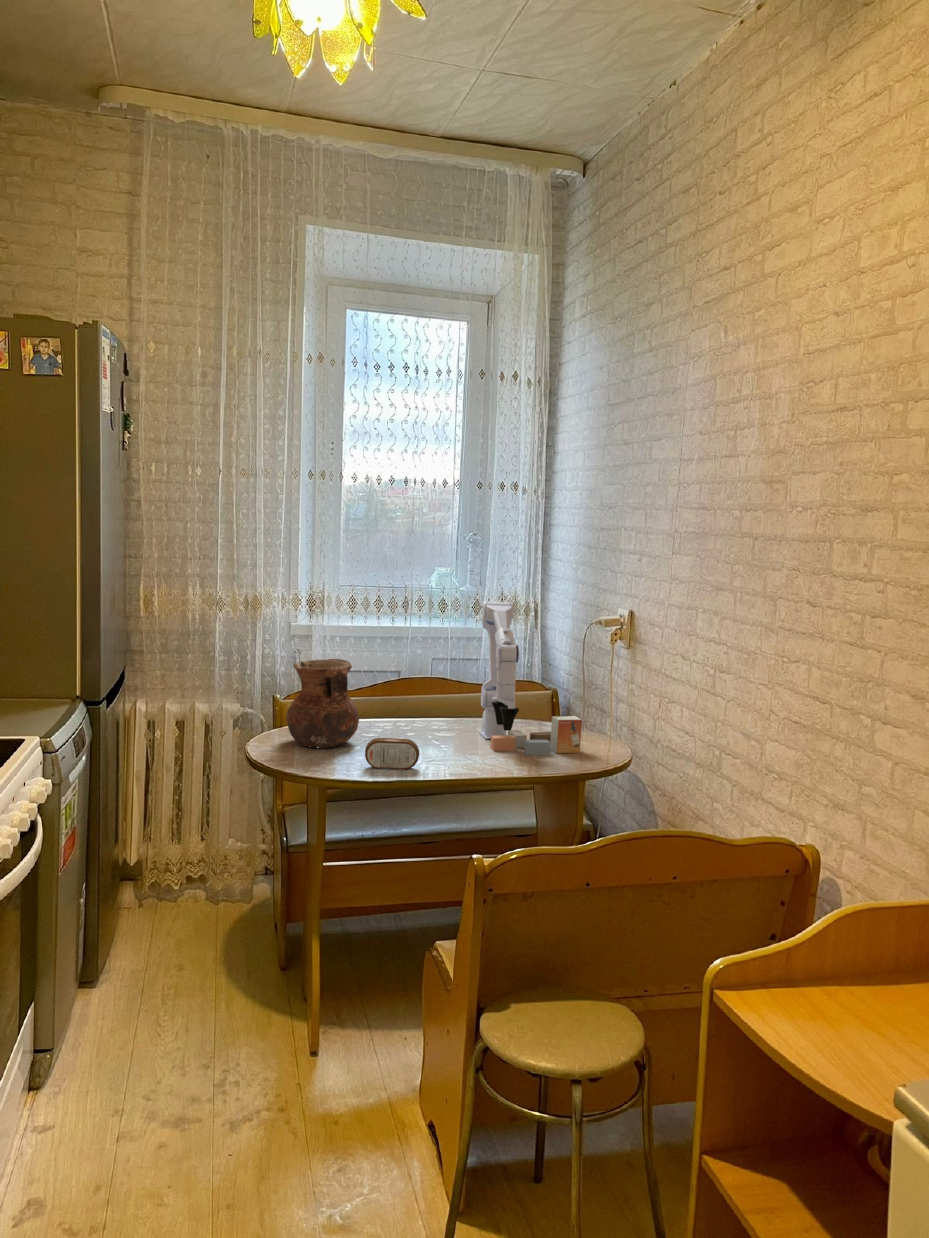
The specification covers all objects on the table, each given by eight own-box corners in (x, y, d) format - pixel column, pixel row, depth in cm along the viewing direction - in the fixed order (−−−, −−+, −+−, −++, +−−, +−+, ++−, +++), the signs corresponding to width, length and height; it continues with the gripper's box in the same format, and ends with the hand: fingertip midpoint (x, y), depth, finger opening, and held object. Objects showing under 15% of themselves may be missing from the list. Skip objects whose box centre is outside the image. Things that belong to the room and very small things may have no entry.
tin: (418, 767, 256) (419, 738, 255) (418, 770, 253) (419, 741, 252) (364, 766, 256) (365, 736, 255) (363, 769, 252) (364, 739, 251)
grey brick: (515, 748, 284) (516, 735, 283) (507, 742, 290) (508, 730, 290) (526, 747, 285) (526, 735, 284) (517, 742, 291) (518, 730, 291)
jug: (271, 744, 275) (272, 662, 272) (313, 731, 293) (315, 654, 290) (331, 756, 264) (333, 670, 262) (371, 742, 283) (374, 662, 280)
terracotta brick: (490, 748, 282) (491, 735, 282) (512, 748, 284) (513, 735, 283) (493, 751, 279) (493, 738, 278) (515, 750, 280) (516, 738, 280)
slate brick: (524, 752, 279) (525, 739, 278) (546, 752, 280) (547, 739, 280) (527, 755, 275) (527, 742, 275) (549, 755, 277) (550, 742, 276)
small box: (556, 753, 278) (557, 719, 277) (549, 749, 284) (551, 715, 283) (580, 753, 281) (582, 719, 279) (573, 748, 286) (575, 715, 285)
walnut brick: (529, 744, 289) (530, 732, 288) (548, 743, 292) (549, 731, 291) (534, 747, 286) (535, 735, 285) (554, 746, 288) (555, 733, 288)
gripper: (487, 679, 285) (485, 722, 287) (500, 687, 271) (497, 732, 273) (508, 679, 287) (506, 722, 288) (522, 687, 273) (520, 732, 274)
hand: (503, 727), depth 281 cm, fingers open, 7 cm apart
